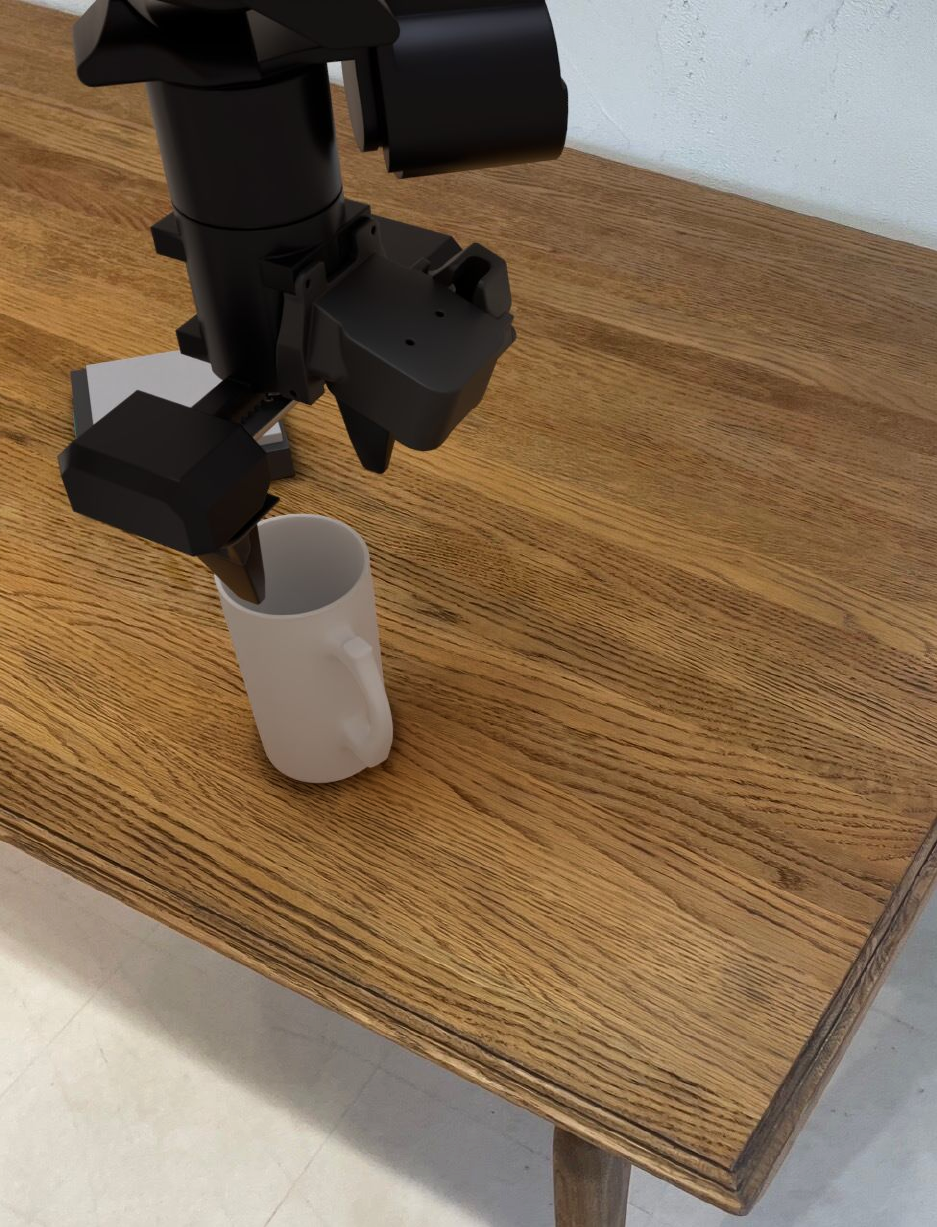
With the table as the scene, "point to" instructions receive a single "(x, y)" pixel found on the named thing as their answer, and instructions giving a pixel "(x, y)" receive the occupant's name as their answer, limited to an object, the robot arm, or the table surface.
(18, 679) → the table surface
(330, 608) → the mug
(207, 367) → the scale
